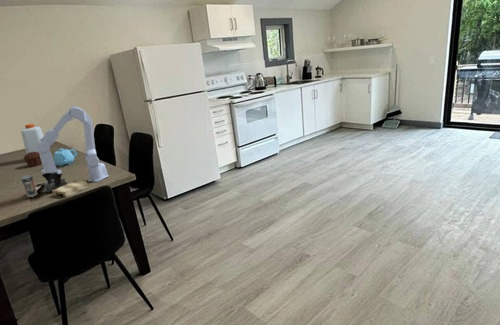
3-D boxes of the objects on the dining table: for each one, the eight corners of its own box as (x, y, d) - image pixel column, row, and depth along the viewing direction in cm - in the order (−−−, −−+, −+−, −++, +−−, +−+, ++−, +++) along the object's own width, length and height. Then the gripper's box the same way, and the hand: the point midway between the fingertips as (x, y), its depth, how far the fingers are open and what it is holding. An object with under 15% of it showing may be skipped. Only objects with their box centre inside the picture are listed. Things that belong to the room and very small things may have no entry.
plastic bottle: (31, 158, 264) (20, 125, 256) (51, 154, 270) (41, 121, 261) (27, 162, 251) (15, 127, 242) (49, 158, 257) (38, 124, 248)
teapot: (78, 159, 245) (73, 144, 241) (81, 163, 232) (76, 147, 228) (48, 165, 235) (43, 150, 231) (49, 170, 221) (44, 154, 218)
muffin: (29, 168, 233) (25, 155, 230) (24, 166, 239) (19, 154, 236) (47, 163, 242) (43, 150, 239) (41, 161, 248) (37, 149, 245)
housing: (62, 183, 187) (60, 175, 186) (68, 183, 185) (66, 175, 184) (43, 191, 177) (40, 183, 175) (49, 192, 175) (46, 183, 173)
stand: (75, 185, 184) (74, 180, 184) (88, 186, 180) (86, 181, 180) (53, 195, 172) (52, 190, 172) (66, 197, 168) (64, 191, 167)
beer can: (28, 198, 172) (20, 178, 168) (27, 196, 176) (20, 176, 172) (38, 196, 175) (31, 175, 171) (37, 193, 178) (31, 173, 175)
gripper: (32, 164, 176) (40, 186, 180) (50, 165, 170) (57, 188, 174) (44, 160, 182) (52, 182, 186) (62, 160, 176) (68, 183, 180)
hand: (55, 185), depth 180 cm, fingers closed on housing, 5 cm apart
